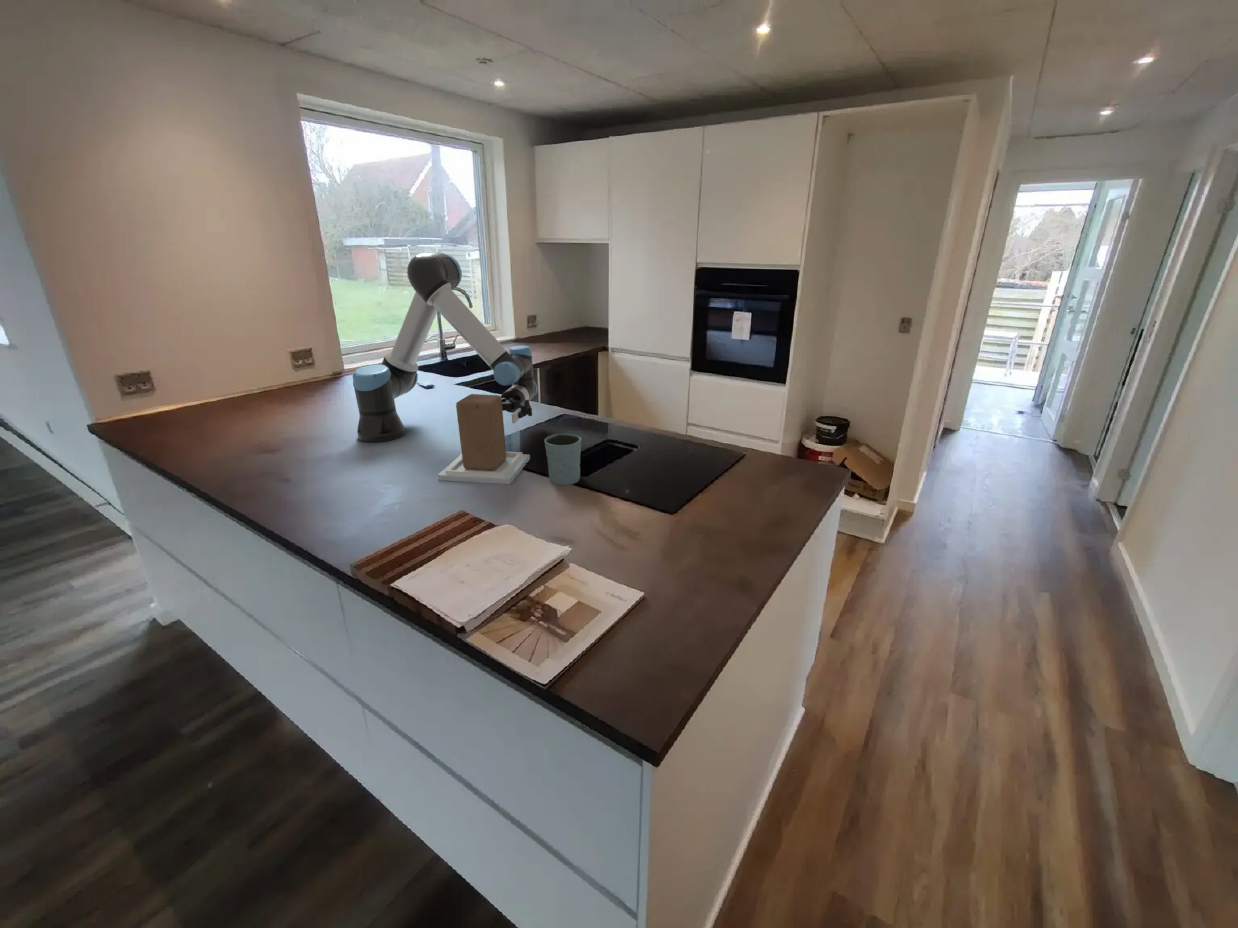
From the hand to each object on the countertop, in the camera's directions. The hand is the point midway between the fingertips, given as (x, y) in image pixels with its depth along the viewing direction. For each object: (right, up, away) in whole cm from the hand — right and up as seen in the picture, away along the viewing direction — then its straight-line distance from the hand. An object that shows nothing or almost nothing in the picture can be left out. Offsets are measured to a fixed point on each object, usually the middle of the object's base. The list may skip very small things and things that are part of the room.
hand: (491, 418), depth 161 cm
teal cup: (+23, -18, -8) cm, 30 cm away
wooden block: (-1, -14, -2) cm, 14 cm away
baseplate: (-1, -15, -1) cm, 15 cm away
